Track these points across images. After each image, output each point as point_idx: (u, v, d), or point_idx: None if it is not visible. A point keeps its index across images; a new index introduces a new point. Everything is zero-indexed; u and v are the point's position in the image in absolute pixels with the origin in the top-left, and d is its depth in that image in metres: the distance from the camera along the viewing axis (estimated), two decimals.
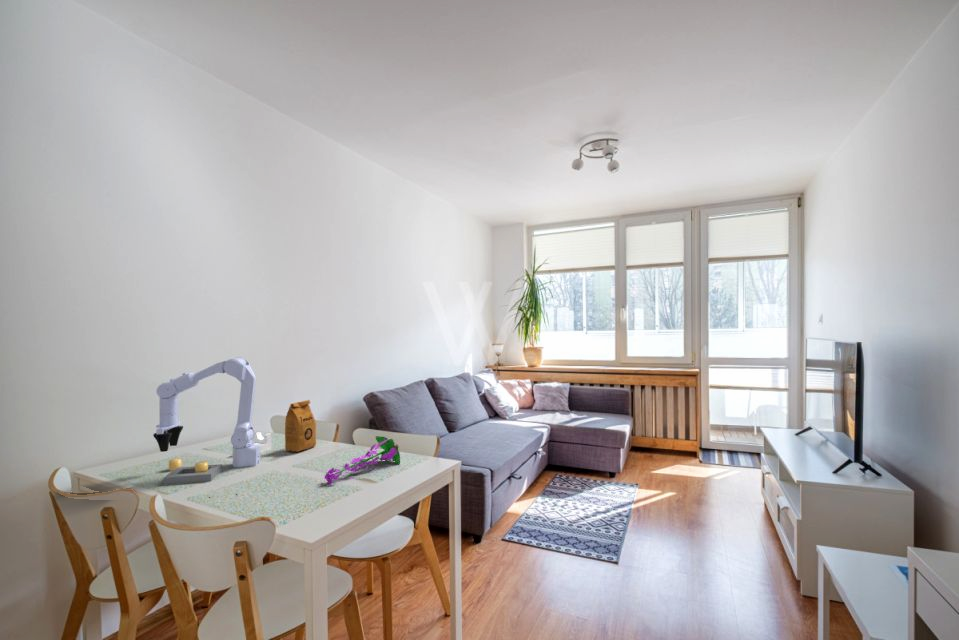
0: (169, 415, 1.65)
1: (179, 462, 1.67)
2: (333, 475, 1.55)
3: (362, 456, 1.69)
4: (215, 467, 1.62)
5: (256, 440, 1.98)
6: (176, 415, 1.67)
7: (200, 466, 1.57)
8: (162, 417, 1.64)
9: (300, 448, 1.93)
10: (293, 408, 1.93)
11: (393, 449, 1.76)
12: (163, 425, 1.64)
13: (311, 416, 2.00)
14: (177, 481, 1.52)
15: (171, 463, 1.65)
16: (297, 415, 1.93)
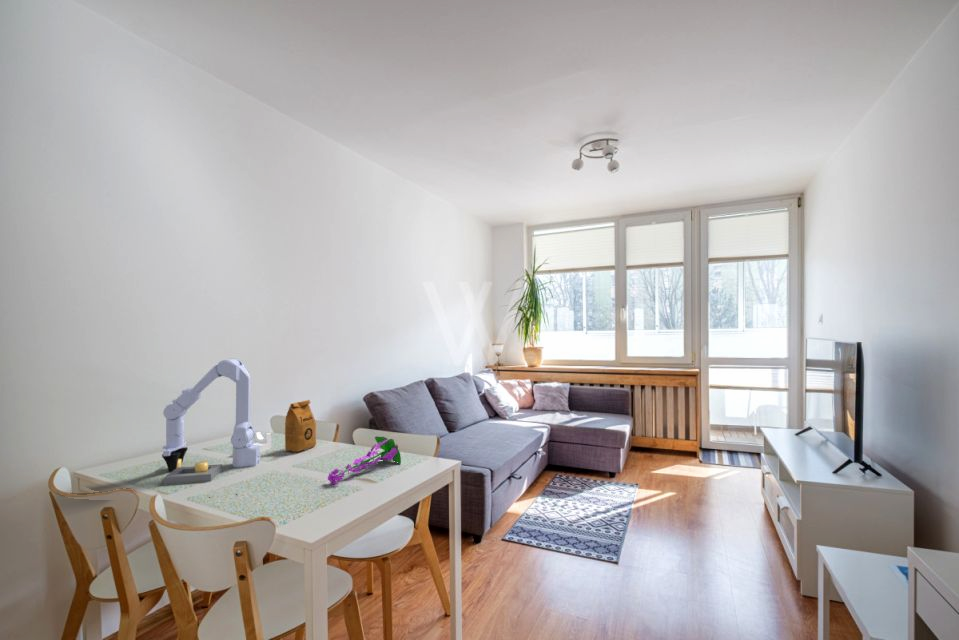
0: (176, 436, 1.65)
1: (179, 462, 1.67)
2: (337, 476, 1.54)
3: (363, 456, 1.69)
4: (215, 467, 1.62)
5: (256, 440, 1.99)
6: (182, 436, 1.68)
7: (200, 466, 1.57)
8: (169, 438, 1.65)
9: (300, 448, 1.93)
10: (293, 408, 1.93)
11: (394, 449, 1.76)
12: (170, 446, 1.64)
13: (311, 416, 2.00)
14: (177, 481, 1.52)
15: None
16: (297, 415, 1.93)
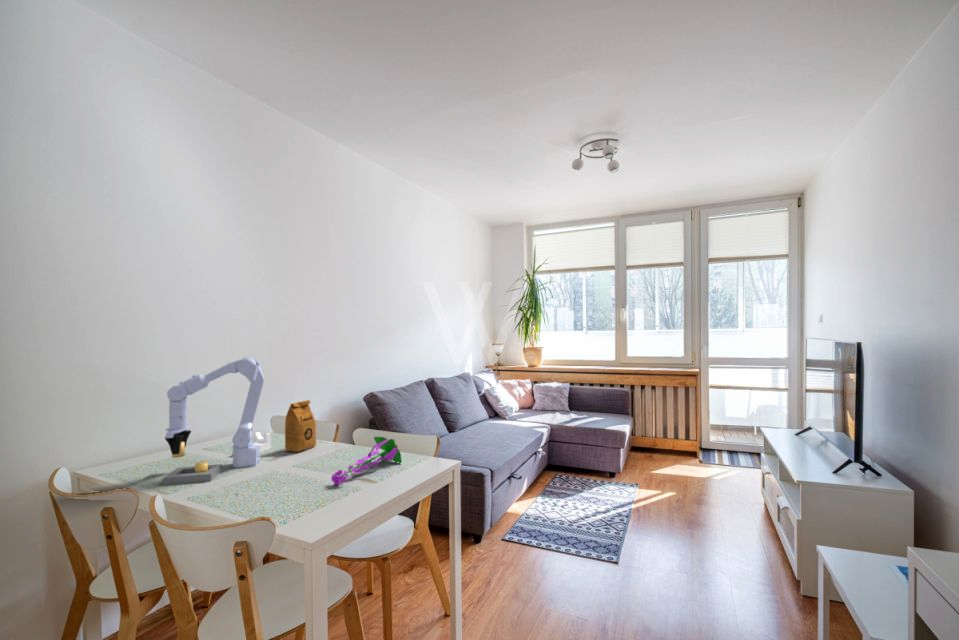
0: (179, 418, 1.63)
1: (182, 445, 1.64)
2: (341, 477, 1.53)
3: (365, 457, 1.68)
4: (215, 467, 1.62)
5: (255, 440, 1.99)
6: (186, 418, 1.65)
7: (200, 466, 1.57)
8: (172, 420, 1.62)
9: (300, 448, 1.93)
10: (293, 408, 1.93)
11: (394, 449, 1.76)
12: (173, 429, 1.62)
13: (311, 416, 2.00)
14: (177, 481, 1.52)
15: None
16: (297, 415, 1.93)
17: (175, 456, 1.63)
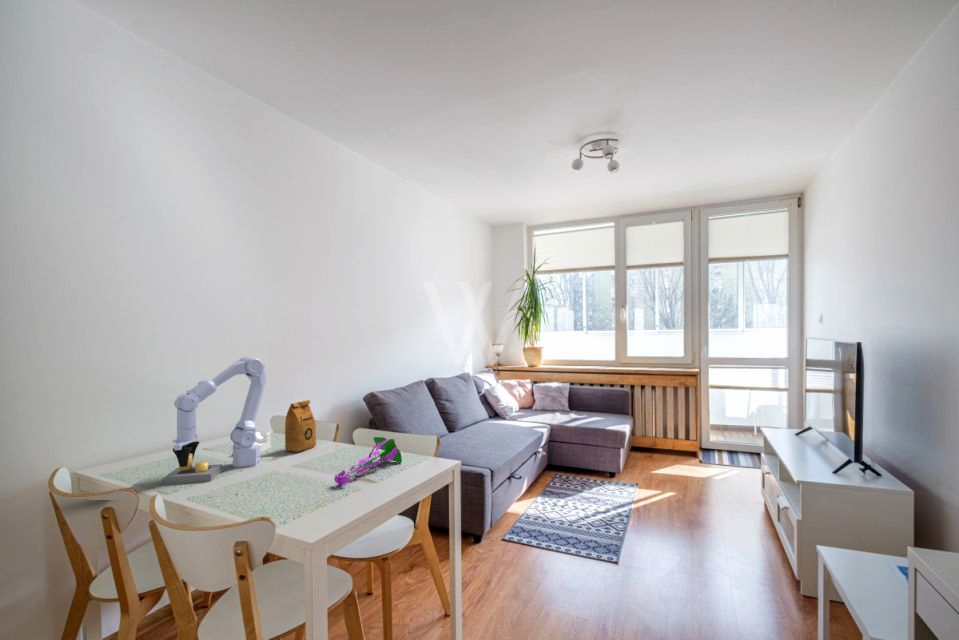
0: (187, 429, 1.55)
1: (190, 457, 1.57)
2: (344, 477, 1.52)
3: (366, 457, 1.68)
4: (215, 467, 1.62)
5: None
6: (194, 429, 1.58)
7: (200, 466, 1.57)
8: (180, 432, 1.55)
9: (300, 448, 1.93)
10: (293, 408, 1.93)
11: (395, 449, 1.76)
12: (181, 440, 1.55)
13: (311, 416, 2.00)
14: (177, 481, 1.52)
15: None
16: (297, 415, 1.93)
17: (182, 469, 1.55)
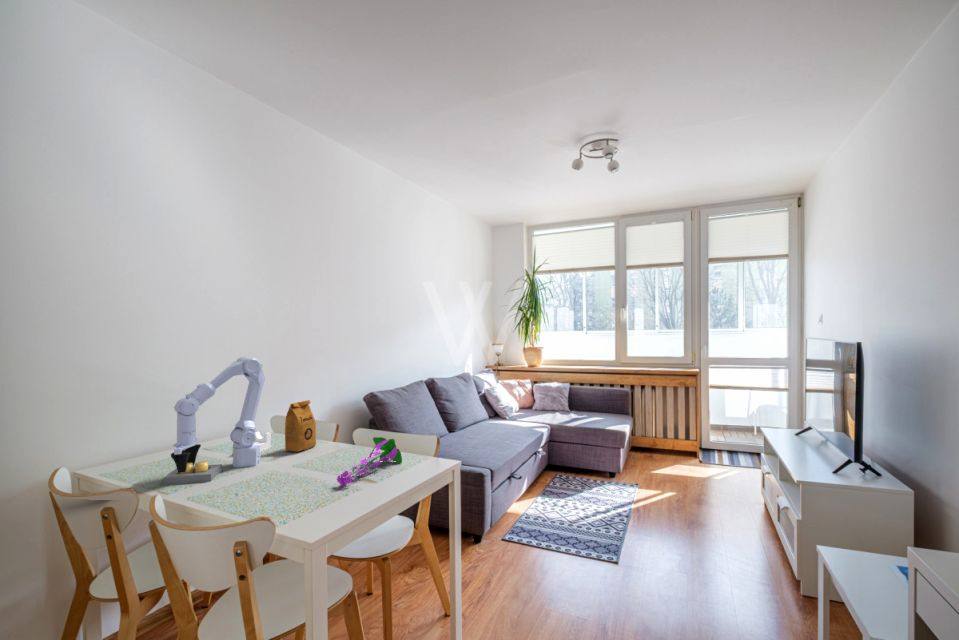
0: (187, 434, 1.55)
1: (190, 466, 1.57)
2: (347, 478, 1.52)
3: (367, 457, 1.67)
4: (215, 467, 1.62)
5: None
6: (194, 433, 1.58)
7: (200, 466, 1.57)
8: (180, 436, 1.55)
9: (300, 448, 1.93)
10: (293, 408, 1.93)
11: (395, 449, 1.76)
12: (181, 444, 1.55)
13: (311, 416, 2.00)
14: (177, 481, 1.52)
15: None
16: (297, 415, 1.93)
17: None
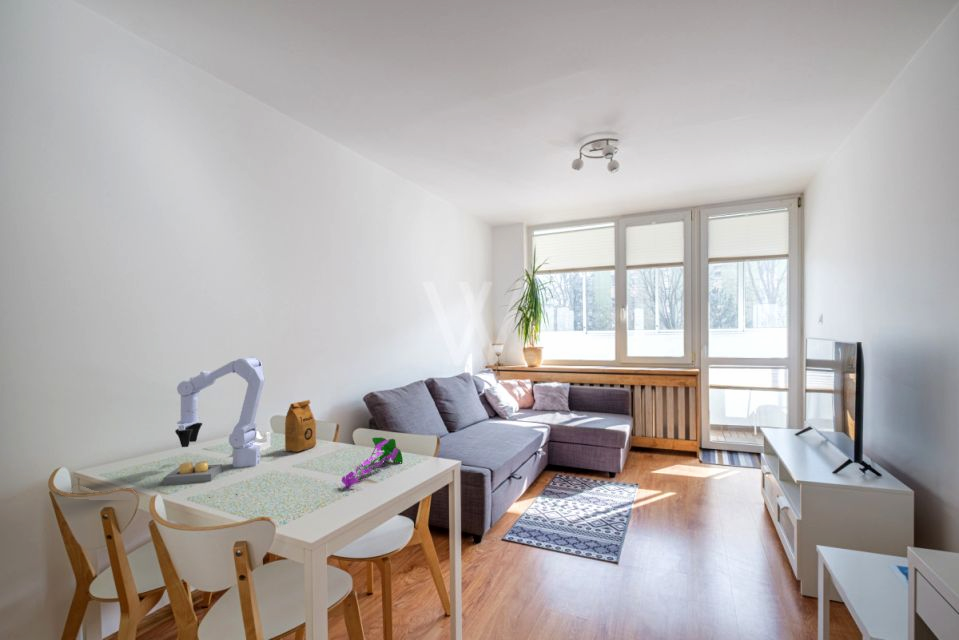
0: (190, 412, 1.71)
1: (190, 466, 1.57)
2: (353, 479, 1.51)
3: (369, 458, 1.67)
4: (215, 467, 1.62)
5: (254, 439, 2.00)
6: (196, 412, 1.74)
7: (200, 466, 1.57)
8: (183, 414, 1.71)
9: (300, 448, 1.93)
10: (293, 408, 1.93)
11: (396, 449, 1.76)
12: (184, 422, 1.70)
13: (311, 416, 2.00)
14: (177, 481, 1.52)
15: (182, 467, 1.55)
16: (297, 415, 1.93)
17: None
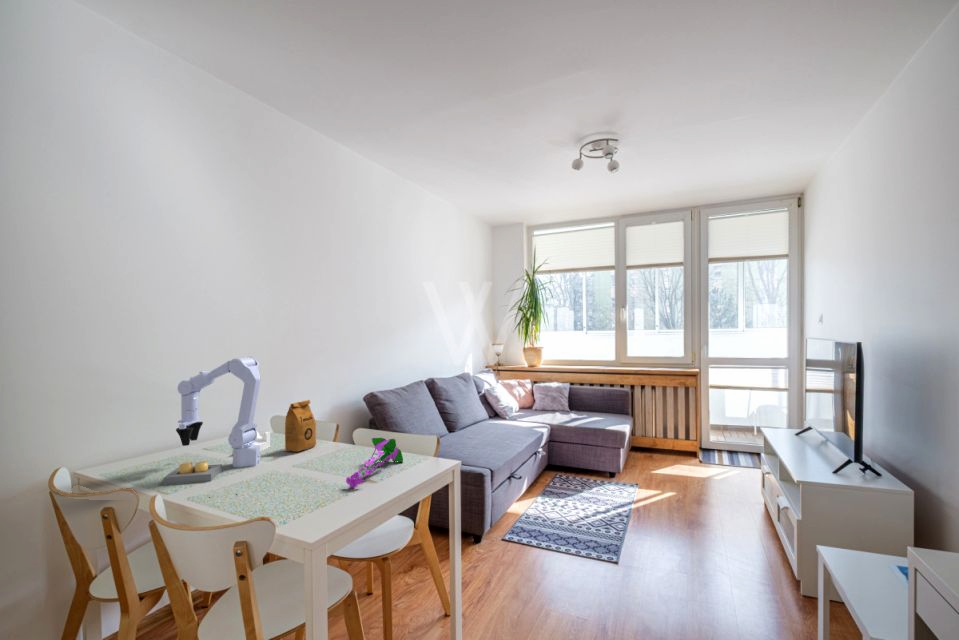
0: (190, 411, 1.74)
1: (190, 466, 1.57)
2: (358, 479, 1.51)
3: (371, 458, 1.66)
4: (215, 467, 1.62)
5: None
6: (197, 411, 1.76)
7: (200, 466, 1.57)
8: (184, 413, 1.73)
9: (300, 448, 1.93)
10: (293, 408, 1.93)
11: (396, 448, 1.76)
12: (185, 420, 1.73)
13: (311, 416, 2.00)
14: (177, 481, 1.52)
15: (182, 467, 1.56)
16: (297, 415, 1.93)
17: None
